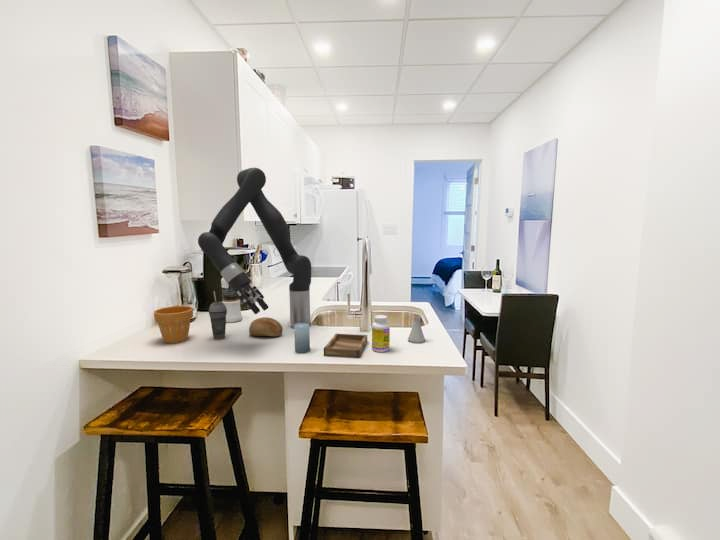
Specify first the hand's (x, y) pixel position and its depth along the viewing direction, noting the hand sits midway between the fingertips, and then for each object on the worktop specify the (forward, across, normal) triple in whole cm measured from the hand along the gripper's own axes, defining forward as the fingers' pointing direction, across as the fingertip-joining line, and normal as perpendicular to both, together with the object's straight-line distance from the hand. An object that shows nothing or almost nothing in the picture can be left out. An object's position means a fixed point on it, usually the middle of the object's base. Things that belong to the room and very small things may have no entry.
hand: (262, 310), depth 137 cm
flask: (+48, +17, -36) cm, 62 cm away
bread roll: (+7, +18, +13) cm, 23 cm away
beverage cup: (-4, +13, +28) cm, 31 cm away
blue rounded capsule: (+21, +1, -2) cm, 21 cm away
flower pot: (-14, +9, +41) cm, 44 cm away
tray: (+31, +5, -15) cm, 35 cm away
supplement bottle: (+40, +5, -25) cm, 47 cm away
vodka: (-10, +40, +32) cm, 52 cm away
